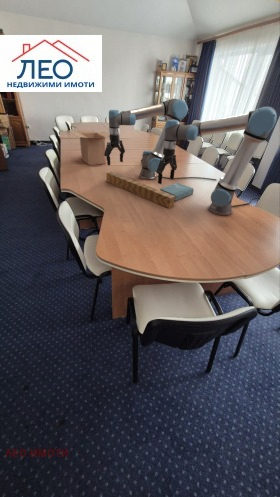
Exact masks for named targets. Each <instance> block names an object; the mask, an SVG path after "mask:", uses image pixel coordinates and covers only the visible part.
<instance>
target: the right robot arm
mask: <svg viewBox="0 0 280 497" xmlns="http://www.w3.org/2000/svg"><path fill="white" fill-rule="evenodd" d="M277 119H278V112H277V111H276V109H275V108H274V107H272V106H262V107H259V108H257V109H254V110H249V111H248V112H247V113H244V114H239V115H234V116H233V115H232V116H228V117H222V118H217V119H212V120H206V121H201V122H194V123H190V124H180V123H179V121H178V120H167V119H166V120H165V123H166V127H165V138H164V149H163V156H164V158H162V157H161V159H160V163H159V166H158V169H157V171H156V172H155V174H158V175H157V176H158V177H157V184H158V185H162V184H163V178H162V177H163V175H164V174H163V172H164V170H165V169H166V167H167V166H168V165H169V166H170V174H169V178H170V179H169V180H172V181H173V180H175V179H174V178H175V171H177V168H178V163H177V154H176V145H177V140H185V141H192V142H194V141H196V140H197V137H202V136H210V135H217V134H223V133H230V132H237V131H243V132H242V133H243V139H242V141H241V142H240V144H239V146H238V148H237V150H236V152H235V154H234V156H233V158H232V160H231V162H230V163H229V166H228V168H227V170H226V171H225V174H224V175H223V177H220V178H219V180H218V182H217V183H216V186H215V187H214V189H213V191H212V192H211V194H210V201H211V203H210V204H209V206H208V211H209V212H210V213H212V214H213V215H217V216H223V217H225V216H230V215H231V214H232V208H235V207H241V206H247V205H250V204H251V203H252V201H253V200H260V201H261V198H260V197H254V198H251V199H250V202H247V203H241V204H235V205H232V202H233V199H234V196H235V193H236V191H237V190H238V183H239V181H240V179H241V177H242V175H243V174H244V172H245V170H246V168H247V167H248V165H249V163H250V161H251V160H252V158H253V156H254V155H255V152H256V151H257V149H258V148H259V146H260V144H261V143H264V142H265V141H266V139H267V138H268V136H269V134H270V133H271V131H272V130H273V129H274V127H275V125H276V123H277Z"/></svg>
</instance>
